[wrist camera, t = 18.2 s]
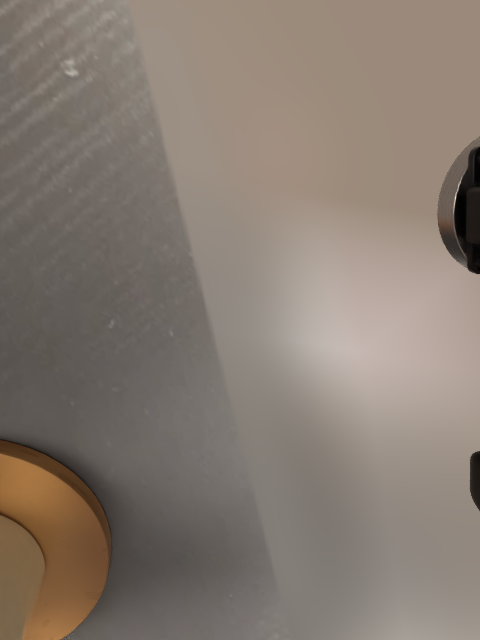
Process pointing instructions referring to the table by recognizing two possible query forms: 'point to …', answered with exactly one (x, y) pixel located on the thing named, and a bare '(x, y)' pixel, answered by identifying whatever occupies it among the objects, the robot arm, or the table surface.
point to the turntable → (57, 536)
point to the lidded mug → (18, 578)
